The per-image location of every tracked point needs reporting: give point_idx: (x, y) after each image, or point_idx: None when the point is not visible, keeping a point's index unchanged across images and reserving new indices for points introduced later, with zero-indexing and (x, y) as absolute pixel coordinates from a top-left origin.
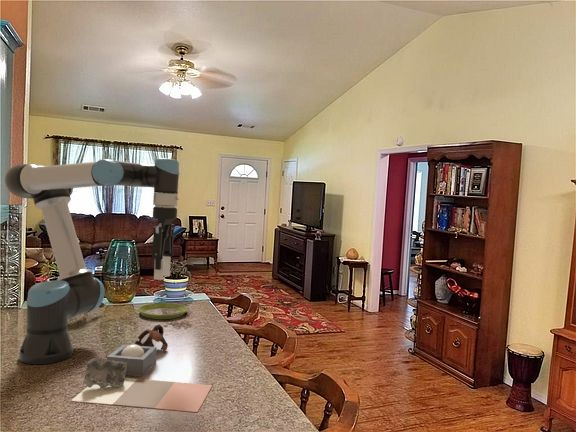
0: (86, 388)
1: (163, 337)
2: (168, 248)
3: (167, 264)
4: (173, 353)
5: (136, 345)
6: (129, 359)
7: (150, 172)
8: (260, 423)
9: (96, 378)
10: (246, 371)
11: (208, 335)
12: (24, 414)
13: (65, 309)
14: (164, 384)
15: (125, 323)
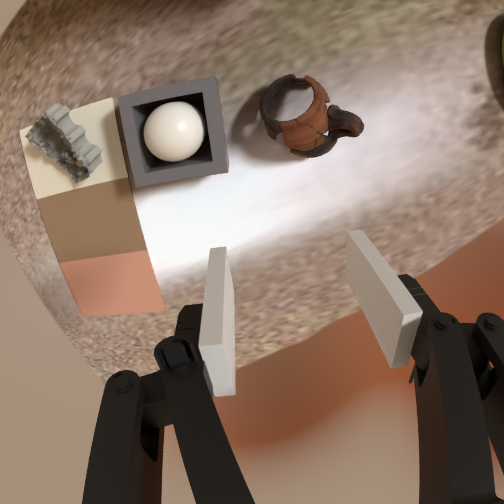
0: None
1: (329, 144)
2: (420, 416)
3: (370, 313)
4: (301, 175)
5: (171, 144)
6: (128, 153)
7: None
8: (105, 376)
9: (43, 145)
10: (249, 337)
11: (436, 208)
12: None
13: None
14: (129, 238)
15: None
